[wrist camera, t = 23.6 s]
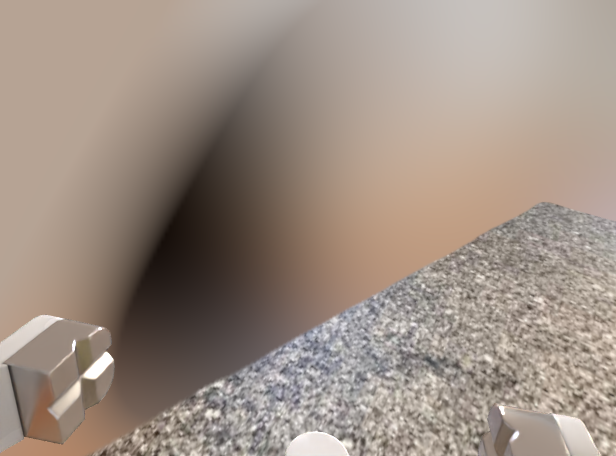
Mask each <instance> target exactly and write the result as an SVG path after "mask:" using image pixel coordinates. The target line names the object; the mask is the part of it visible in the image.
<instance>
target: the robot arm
mask: <svg viewBox="0 0 616 456" xmlns="http://www.w3.org/2000/svg"><path fill="white" fill-rule="evenodd" d="M111 344H112V342H111V336H110V331H109V330H108V329H106V328H104V327H100V326H96V325H92V324H87V323H83V322H78V321H74V320H69V319H62V318H58V317H54V316H49V315H42V316H37V317H35V318H34V319H33V320H31V321H30V322H28V323H27V324H26V325H24V326H23V327H21V328H20V329H19V330H17V331H16V332H14V333H13V334H12V335H10V336H9V337H7V338H6V339H5V340H3V341H2V342H0V453H1V452H2V451H4V450H6V449H7V448H9V447H11V446H13V445H14V444H16V443H18V442H20V441H21V440H23V439H24V437H29V438H33V439H39V440H43V441H48V442H53V443H58V444H63V443H64V442H65V441H66V440H67V439H68V438H69V437H70V435H71V434H72V433H73V432H74V431H75V430H76V429H77V427H78V426H79V425H80V424H81V423H82V422H83V420H84V419H85V409H87V408H89V407H92V406H94V405H96V404H98V403H99V402H100V401H101V399H102V398H103V397H104V396H105V395H106V393H107V392H108V389H109V387H110V385H111V383H112V381H113V375H114V361H113V359H112V357H111V356H110V355H109V353H108V352H107V351H106V350H107V349H108V347H109V346H110V345H111ZM487 420H488V424H489V428H490V431H489V432H487V433H486V434H484V435H483V436H482V437H481V441H480V445H479V448H478V456H601V455H600V453H599V451H598V449H597V447H596V446H595V444H594V442H593V440H592V438H591V436H590V434H589V432H588V430H587V428H586V426H585V424H584V423H583V422H582V421H581V420H580V419H579V418H574V417H569V416H563V415H557V414H551V413H550V414H547V413H543V412H537V411H532V410H527V409H521V408H516V407H511V406H505V405H500V404H495V403H494V405H493V406H492V407H491V409H490V412H489V415H488V418H487Z"/></svg>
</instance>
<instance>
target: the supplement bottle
mask: <svg viewBox="0 0 616 456" xmlns="http://www.w3.org/2000/svg"><path fill="white" fill-rule="evenodd" d="M285 456H349V455H348V452H347V450H346V448H345V447H344V445H343V444H342V443H341V442H340V441H339V440H338V439H336V438H335V437H333V436H331V435H329V434H326V433H322V432H309V433H305V434H302V435H300V436H298V437H296V438H295V439H294V440H293V441H292V442H291V443H290V444H289V446H288V448H287V450H286V453H285Z"/></svg>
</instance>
